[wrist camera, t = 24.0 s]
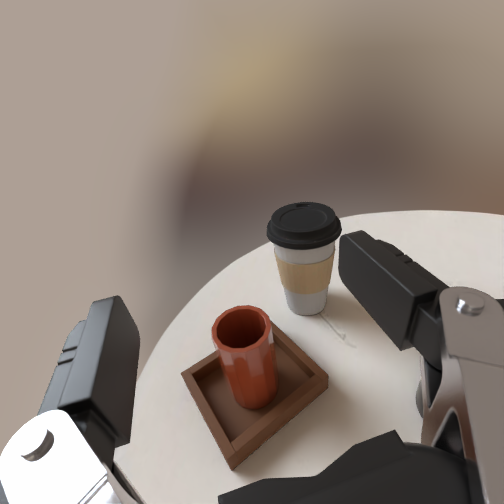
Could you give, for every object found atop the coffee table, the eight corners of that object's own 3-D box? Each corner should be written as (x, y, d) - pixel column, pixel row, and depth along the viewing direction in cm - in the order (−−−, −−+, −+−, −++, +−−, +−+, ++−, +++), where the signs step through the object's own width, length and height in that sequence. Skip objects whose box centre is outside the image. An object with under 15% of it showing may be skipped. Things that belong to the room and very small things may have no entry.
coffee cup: (318, 275, 48) (317, 193, 40) (351, 313, 40) (359, 221, 32) (266, 292, 46) (255, 210, 38) (290, 335, 38) (282, 243, 30)
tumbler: (248, 421, 29) (231, 365, 24) (221, 380, 34) (201, 324, 28) (290, 388, 32) (283, 329, 26) (259, 353, 36) (248, 297, 31)
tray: (231, 471, 26) (226, 460, 25) (186, 384, 34) (180, 373, 33) (328, 387, 32) (328, 375, 30) (269, 329, 40) (267, 317, 38)
